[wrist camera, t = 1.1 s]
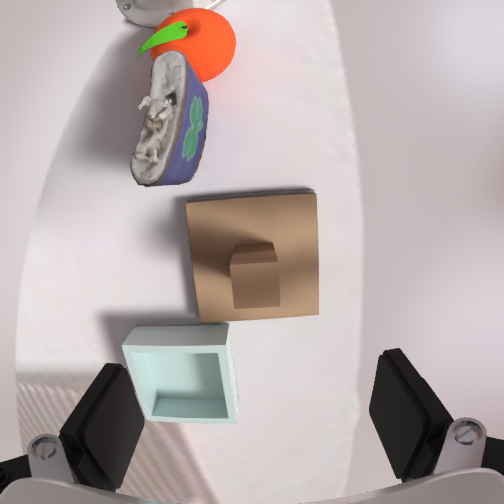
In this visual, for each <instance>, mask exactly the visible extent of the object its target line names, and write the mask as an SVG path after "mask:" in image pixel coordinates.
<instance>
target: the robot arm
mask: <svg viewBox="0 0 504 504" xmlns="http://www.w3.org/2000/svg"><path fill="white" fill-rule="evenodd" d="M223 1H224V0H116V2H117V6H118V8H119V9H120V11H121V12H122V14H123V15H124V16H125V17H126V18H127V19H128V20H130V21H132V22H133V23H135V24H138V25H141V26H146V27H158V26H159V25H160V24H161V23H162V22H163V21H164V20H165V19H166V18H167V17H169V16H170V15H172V14H174V13H176V12H178V11H181V10H184V9H189V8H204V9H209V10H211V11H212V10H213V9H215V8H216V7H217V6H219V5H220V4H221V3H222V2H223ZM369 413H370V417H371V419H372V421H373V424H374V426H375V428H376V431H377V433H378V435H379V437H380V440H381V442H382V444H383V447H384V449H385V452H386V454H387V457H388V459H389V462H390V464H391V466H392V469H393V471H394V474H395V476H396V478H397V479H400V478H401V480H402V484H398V485H395V486H391V487H387V488H384V489H379V490H375V491H371V492H367V493H362V494H357V495H353V496H347V497H342V498H337V499H331V500H324V501H317V502H310V503H301V504H504V440H501V439H496V438H491V437H487V434H486V429H485V427H484V425H483V424H482V423H481V422H480V421H478V420H476V419H473V418H466V417H465V418H460V419H457V420H455V421H454V420H453V418H452V417H451V415H450V414H449V412H448V411H447V410H446V409H445V407H444V405H443V404H442V403H441V401H440V400H439V398H438V397H437V396H436V394H435V393H434V392H433V390H432V389H431V387H430V386H429V385H428V384H427V382H426V381H425V379H424V378H422V377H421V376H420V375H419V373H418V372H417V370H416V369H415V368H414V366H413V365H412V364H411V362H410V361H409V360H408V358H407V357H406V356H405V355H404V353H403V352H402V351H401V349H400V348H395V349H390V350H385V351H384V352H383V355H380V356H379V359H378V364H377V370H376V377H375V381H374V386H373V391H372V396H371V401H370V406H369ZM143 427H144V416H143V414H142V411H141V408H140V406H139V403H138V400H137V398H136V395H135V392H134V389H133V386H132V384H131V381H130V378H129V375H128V372H127V369H126V368H123V366H122V365H121V364H115V363H106V364H105V365H104V367H103V368H102V370H101V371H100V372H99V374H98V375H97V377H96V378H95V380H94V381H93V382H92V384H91V385H90V387H89V388H88V390H87V391H86V393H85V394H84V395H83V397H82V398H81V400H80V401H79V403H78V404H77V406H76V407H75V409H74V410H73V412H72V413H71V415H70V416H69V418H68V419H67V421H66V422H65V424H64V425H63V427H62V428H61V430H60V431H59V432H60V435H59V437H57V436H55V435H52V434H42V435H39V436H37V437H35V438H34V439H33V440H32V441H31V442H30V443H29V445H28V454H27V455H23V456H20V457H17V458H14V459H10V460H8V461H4V462H0V504H179V503H171V502H163V501H156V500H150V499H144V498H138V497H133V496H128V495H123V494H118V493H115V491H116V488H117V489H119V488H120V487H121V485H122V482H123V479H124V477H125V474H126V471H127V469H128V466H129V463H130V461H131V458H132V455H133V453H134V450H135V448H136V445H137V442H138V440H139V437H140V435H141V432H142V430H143Z"/></svg>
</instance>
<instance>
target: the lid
mask: <svg viewBox="0 0 504 504" xmlns="http://www.w3.org/2000/svg"><path fill="white" fill-rule="evenodd" d="M185 204H186V214H187V224H188V233H189V241H190V250H191V258H192V266H193V273H194V281H195V288H196V295H197V302H198V309H199V315H200V322H223V321H243V320H259V319H273V318H286V317H298V316H309V315H319V257H318V221H317V198H316V194H315V193H311V194H292V195H275V196H260V197H246V198H233V199H221V200H210V201H199V202H189V203H185Z"/></svg>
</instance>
